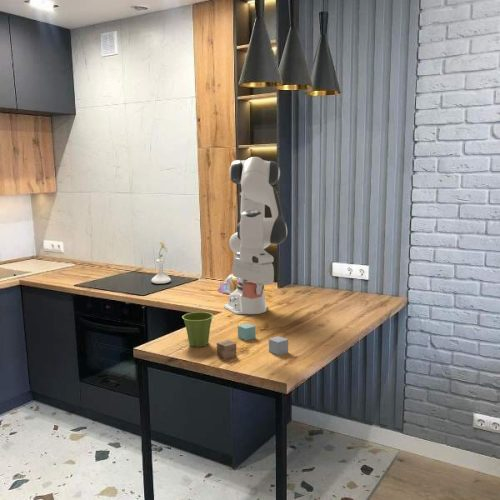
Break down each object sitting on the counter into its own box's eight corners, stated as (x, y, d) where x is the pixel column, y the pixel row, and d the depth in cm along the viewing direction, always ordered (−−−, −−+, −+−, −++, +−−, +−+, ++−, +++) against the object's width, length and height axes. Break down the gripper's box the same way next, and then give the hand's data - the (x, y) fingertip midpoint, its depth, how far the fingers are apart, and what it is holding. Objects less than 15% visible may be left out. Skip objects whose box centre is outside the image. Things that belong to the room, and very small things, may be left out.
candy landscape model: (267, 291, 280) (267, 275, 278) (229, 297, 268) (229, 280, 266) (243, 283, 301) (243, 267, 299) (207, 288, 288) (207, 272, 287)
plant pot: (198, 337, 204) (198, 309, 203) (220, 343, 197) (219, 315, 195) (176, 344, 196) (175, 316, 194) (198, 351, 188) (197, 322, 186)
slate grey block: (268, 351, 188) (268, 338, 187) (279, 348, 191) (279, 336, 190) (277, 355, 184) (277, 342, 183) (288, 352, 187) (288, 339, 186)
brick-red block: (242, 296, 188) (242, 283, 188) (253, 294, 192) (253, 281, 191) (251, 299, 185) (251, 285, 184) (261, 296, 188) (261, 283, 187)
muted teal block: (237, 337, 204) (237, 325, 203) (247, 335, 207) (247, 323, 206) (245, 340, 200) (245, 328, 199) (255, 338, 203) (255, 326, 202)
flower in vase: (169, 285, 296) (168, 242, 292) (149, 285, 296) (148, 242, 292) (172, 280, 309) (171, 239, 305) (153, 280, 309) (152, 239, 305)
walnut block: (217, 355, 184) (216, 342, 183) (228, 352, 187) (227, 339, 186) (225, 359, 180) (225, 346, 180) (236, 356, 183) (236, 343, 183)
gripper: (227, 252, 192) (228, 288, 194) (263, 260, 176) (263, 299, 178) (241, 251, 196) (241, 286, 198) (276, 258, 180) (276, 296, 182)
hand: (252, 292), depth 188 cm, fingers closed on brick-red block, 5 cm apart
